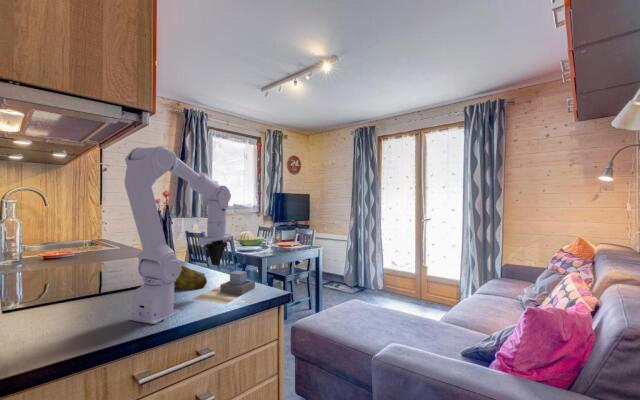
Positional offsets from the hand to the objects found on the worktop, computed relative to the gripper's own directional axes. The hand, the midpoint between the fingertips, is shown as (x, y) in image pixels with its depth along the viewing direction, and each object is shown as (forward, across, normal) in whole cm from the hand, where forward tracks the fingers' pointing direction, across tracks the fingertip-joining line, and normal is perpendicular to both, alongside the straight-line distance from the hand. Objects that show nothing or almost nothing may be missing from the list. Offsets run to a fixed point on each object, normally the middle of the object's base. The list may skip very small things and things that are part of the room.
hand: (215, 264), depth 102 cm
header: (+10, +6, -5) cm, 12 cm away
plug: (+9, +6, -5) cm, 12 cm away
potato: (+10, +2, +13) cm, 17 cm away
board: (+10, +2, -3) cm, 10 cm away
